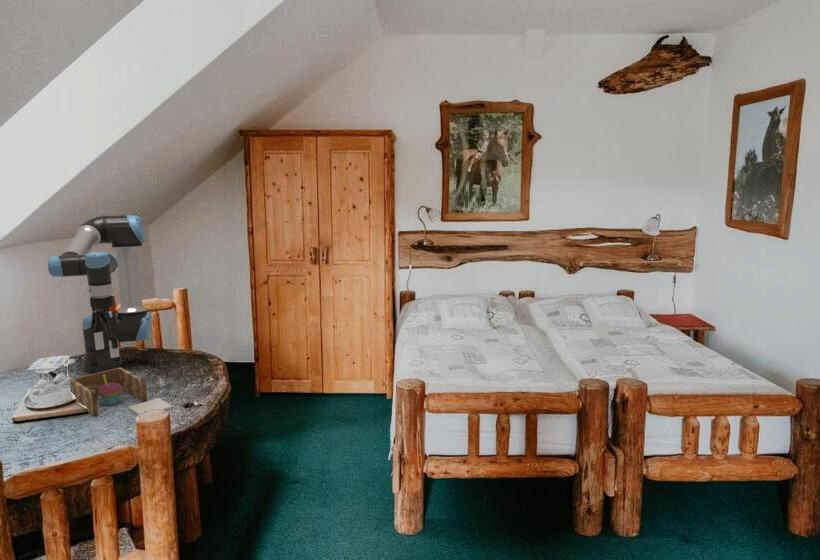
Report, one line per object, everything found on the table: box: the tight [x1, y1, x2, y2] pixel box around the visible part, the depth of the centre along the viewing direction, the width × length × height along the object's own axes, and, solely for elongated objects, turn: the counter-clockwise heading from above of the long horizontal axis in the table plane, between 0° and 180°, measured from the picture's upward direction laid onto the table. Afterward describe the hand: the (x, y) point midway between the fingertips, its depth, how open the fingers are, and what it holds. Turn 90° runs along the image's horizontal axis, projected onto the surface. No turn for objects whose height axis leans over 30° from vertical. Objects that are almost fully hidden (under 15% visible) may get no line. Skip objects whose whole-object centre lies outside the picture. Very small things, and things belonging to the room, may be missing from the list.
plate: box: [128, 397, 174, 416], centre depth 216 cm, size 11×11×1 cm
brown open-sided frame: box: [69, 366, 148, 418], centre depth 223 cm, size 22×18×9 cm
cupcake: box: [97, 373, 124, 406], centre depth 222 cm, size 9×8×12 cm
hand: (107, 353), depth 219 cm, fingers open, 13 cm apart
